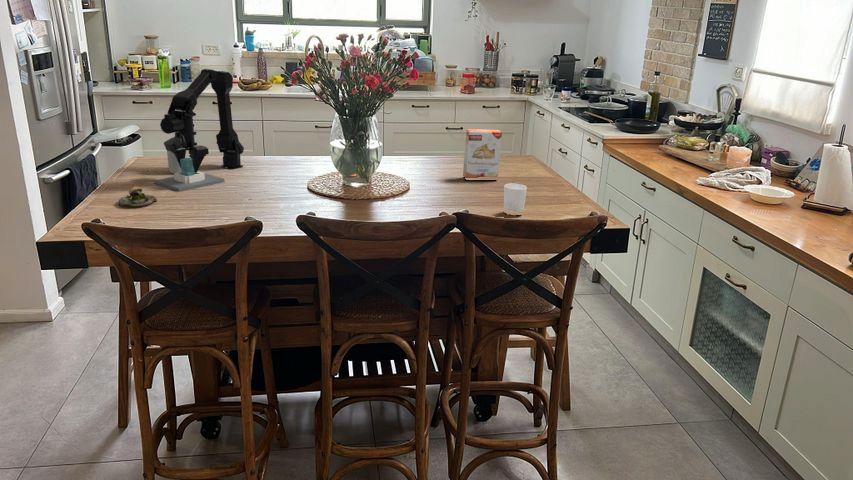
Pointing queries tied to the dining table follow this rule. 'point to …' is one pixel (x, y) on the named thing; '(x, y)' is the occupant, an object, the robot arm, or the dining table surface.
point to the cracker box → (482, 153)
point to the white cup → (514, 196)
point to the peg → (187, 167)
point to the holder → (188, 181)
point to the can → (173, 162)
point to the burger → (136, 198)
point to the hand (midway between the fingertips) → (188, 170)
